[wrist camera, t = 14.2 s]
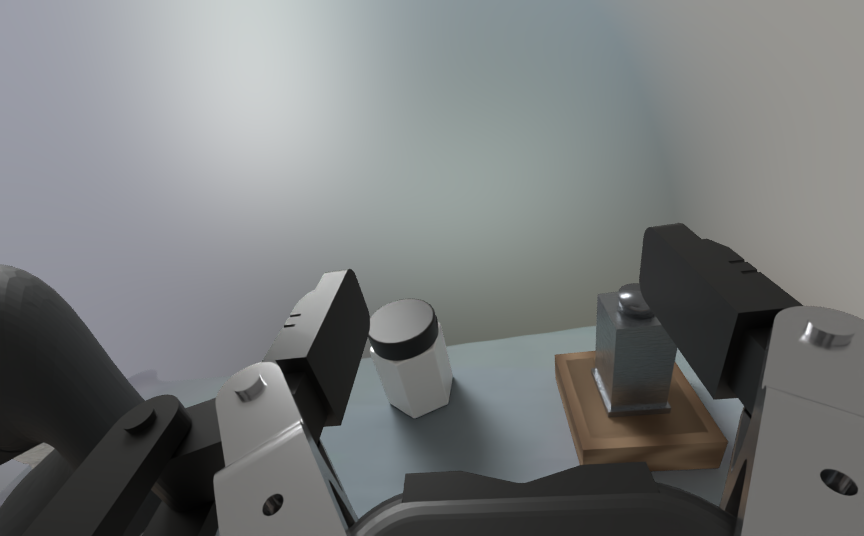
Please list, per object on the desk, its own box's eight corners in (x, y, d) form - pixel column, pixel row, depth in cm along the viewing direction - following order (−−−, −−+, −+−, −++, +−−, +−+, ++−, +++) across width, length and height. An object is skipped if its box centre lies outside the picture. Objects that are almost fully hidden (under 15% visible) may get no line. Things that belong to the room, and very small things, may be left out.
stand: (582, 474, 36) (583, 449, 34) (555, 378, 46) (554, 354, 44) (719, 468, 34) (728, 441, 32) (659, 369, 44) (663, 344, 42)
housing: (608, 417, 36) (614, 318, 30) (591, 373, 41) (593, 279, 35) (670, 413, 35) (690, 310, 29) (645, 368, 40) (658, 271, 34)
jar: (467, 382, 49) (452, 309, 42) (427, 429, 44) (403, 355, 38) (417, 357, 54) (397, 290, 48) (377, 397, 49) (349, 328, 43)
